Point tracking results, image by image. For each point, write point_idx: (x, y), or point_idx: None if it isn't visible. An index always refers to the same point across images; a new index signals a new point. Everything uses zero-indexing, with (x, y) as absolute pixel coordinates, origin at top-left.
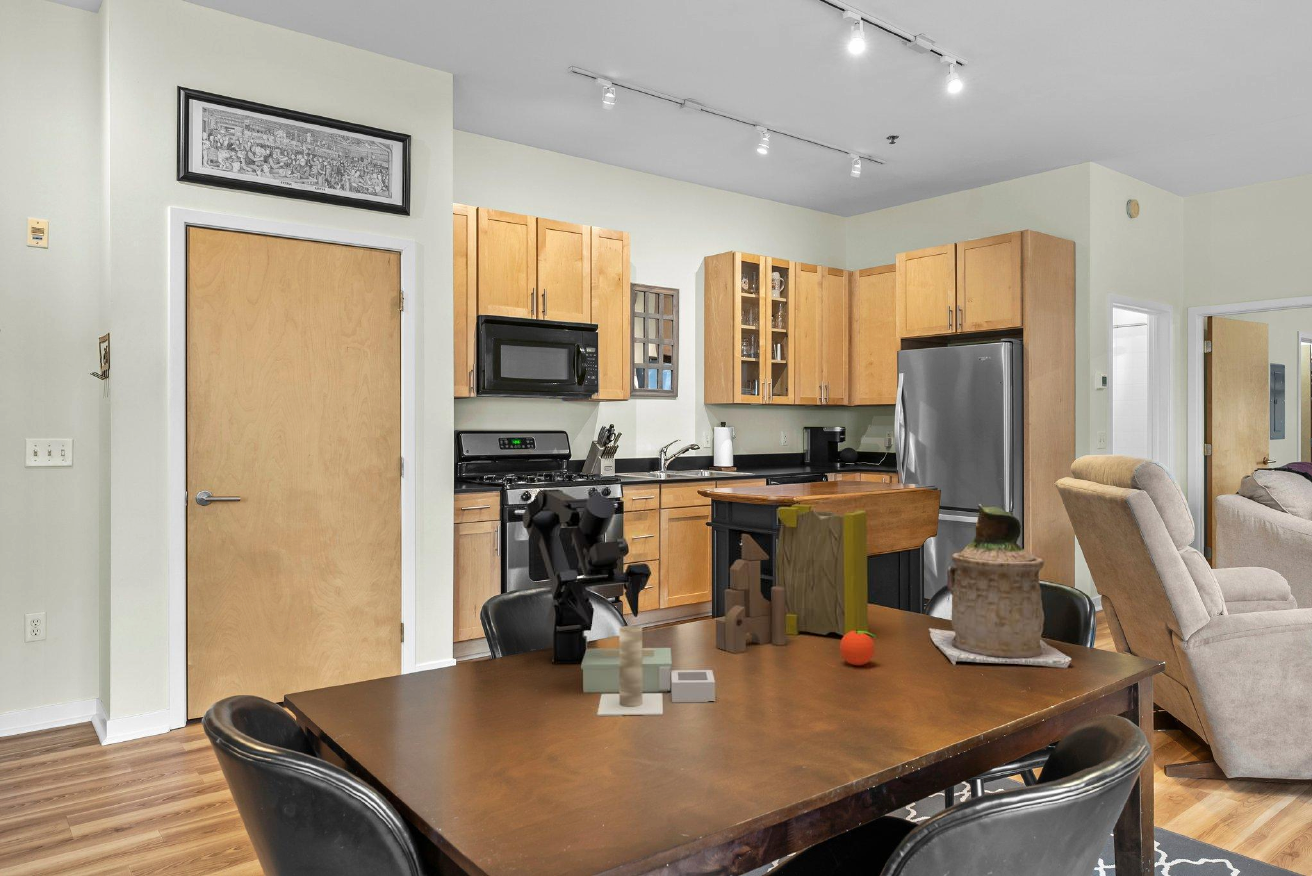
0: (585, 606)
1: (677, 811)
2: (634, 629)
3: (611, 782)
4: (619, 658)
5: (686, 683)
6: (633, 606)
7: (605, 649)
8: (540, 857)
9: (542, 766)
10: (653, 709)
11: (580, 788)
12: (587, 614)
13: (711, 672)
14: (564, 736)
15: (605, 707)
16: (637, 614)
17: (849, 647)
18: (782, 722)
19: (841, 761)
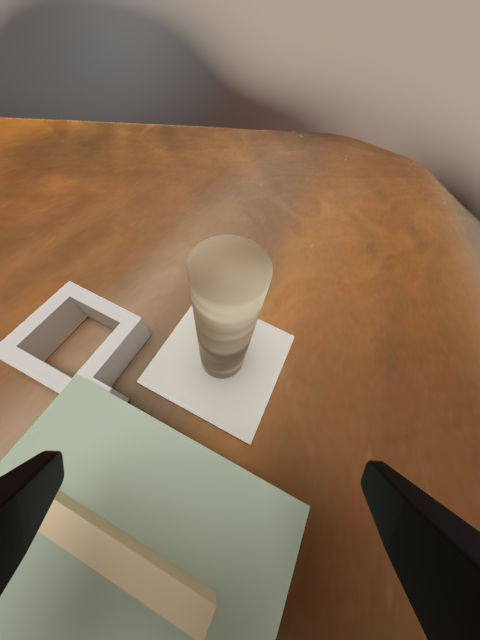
0: (478, 550)
1: (294, 150)
2: (226, 247)
3: (326, 192)
4: (254, 328)
5: (117, 305)
6: (2, 523)
7: (190, 621)
8: (385, 153)
9: (382, 239)
10: None
11: (353, 196)
12: (412, 486)
13: (10, 335)
14: (353, 292)
15: (272, 358)
16: (51, 452)
17: None
18: (84, 208)
19: (129, 140)
